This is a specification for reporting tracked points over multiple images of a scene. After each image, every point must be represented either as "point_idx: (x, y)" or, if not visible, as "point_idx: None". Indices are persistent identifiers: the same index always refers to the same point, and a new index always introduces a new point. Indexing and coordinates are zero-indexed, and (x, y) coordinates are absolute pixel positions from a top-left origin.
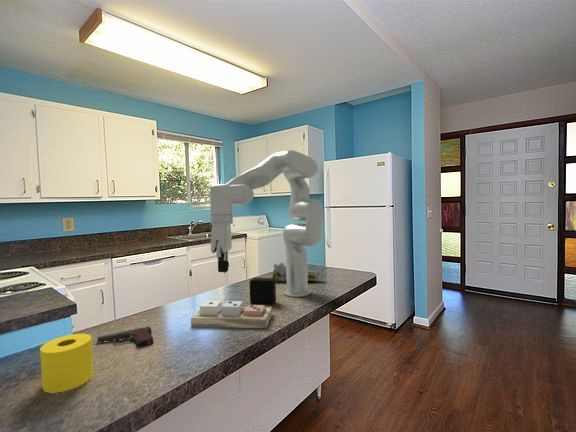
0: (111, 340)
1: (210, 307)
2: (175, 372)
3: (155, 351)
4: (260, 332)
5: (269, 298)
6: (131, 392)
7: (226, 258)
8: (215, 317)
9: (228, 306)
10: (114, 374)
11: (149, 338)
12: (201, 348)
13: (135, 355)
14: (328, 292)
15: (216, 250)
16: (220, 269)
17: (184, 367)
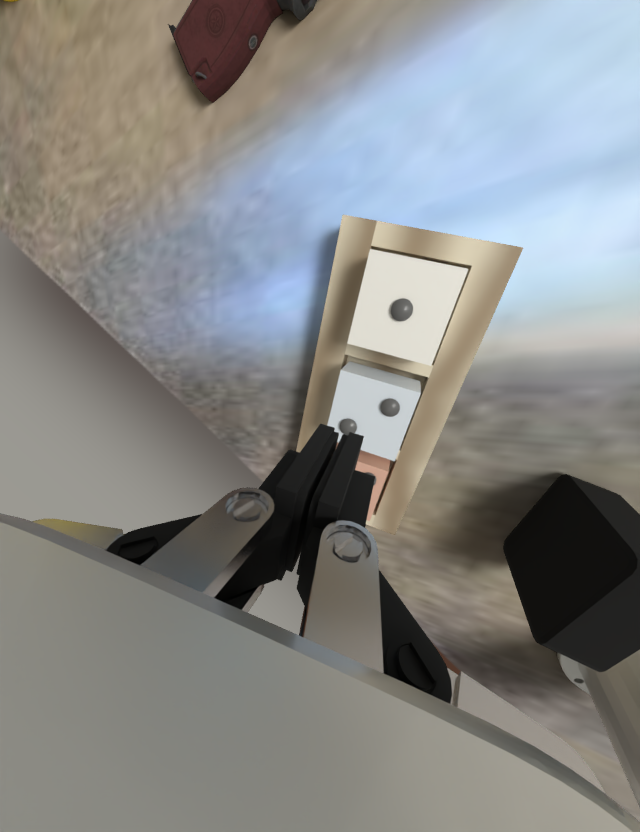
0: None
1: (355, 313)
2: (92, 267)
3: (165, 150)
4: (273, 461)
5: (517, 554)
6: (21, 188)
7: (304, 601)
8: (326, 336)
9: (336, 399)
10: (51, 77)
11: (198, 70)
12: (190, 309)
13: (137, 77)
14: (566, 719)
15: (271, 654)
16: (291, 454)
17: (111, 284)
